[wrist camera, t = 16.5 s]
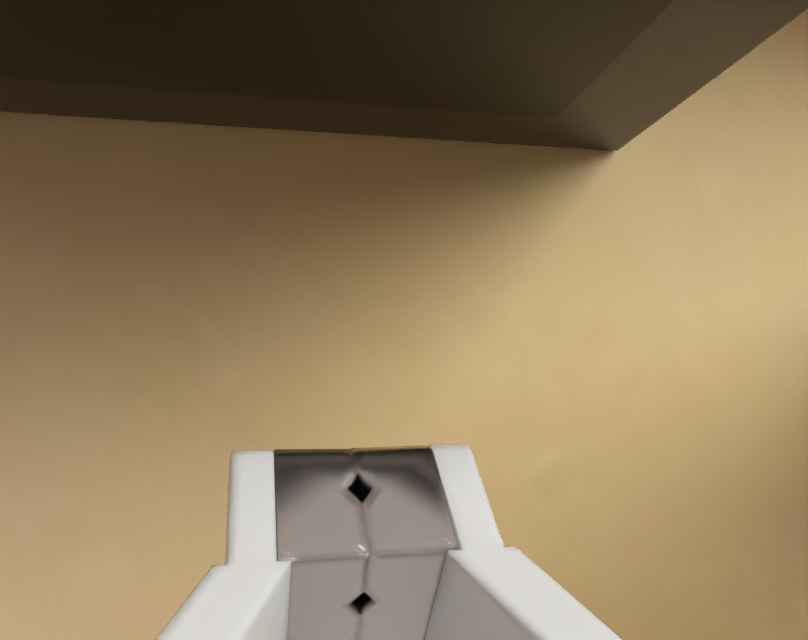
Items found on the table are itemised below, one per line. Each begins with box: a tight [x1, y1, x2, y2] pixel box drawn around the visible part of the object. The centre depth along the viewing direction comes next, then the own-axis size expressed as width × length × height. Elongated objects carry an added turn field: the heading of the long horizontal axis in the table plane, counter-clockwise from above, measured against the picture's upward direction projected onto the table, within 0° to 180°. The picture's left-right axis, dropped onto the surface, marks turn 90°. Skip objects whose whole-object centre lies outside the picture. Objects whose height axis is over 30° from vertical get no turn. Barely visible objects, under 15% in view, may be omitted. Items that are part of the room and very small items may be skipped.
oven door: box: [0, 0, 808, 150], centre depth 25 cm, size 6×40×24 cm, turn 92°
